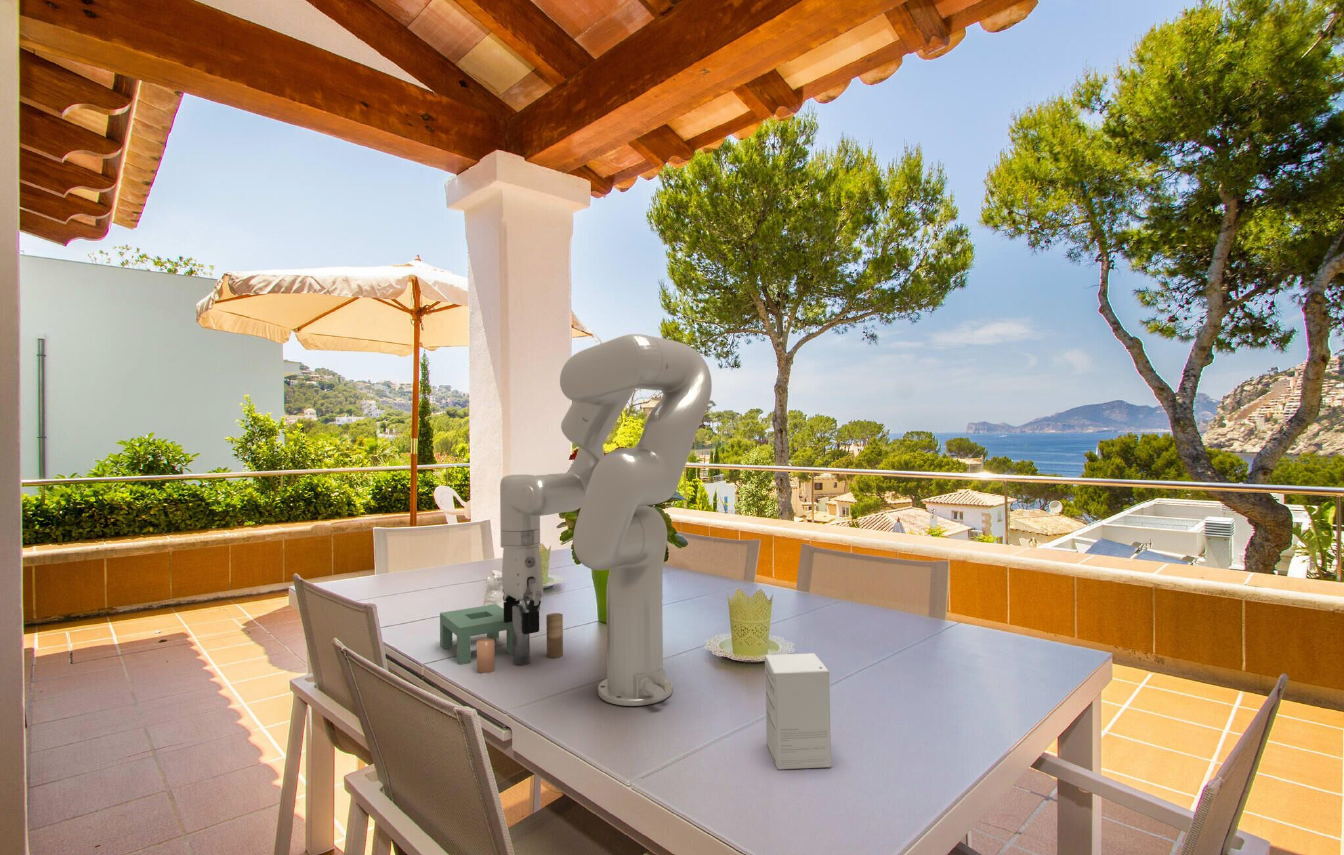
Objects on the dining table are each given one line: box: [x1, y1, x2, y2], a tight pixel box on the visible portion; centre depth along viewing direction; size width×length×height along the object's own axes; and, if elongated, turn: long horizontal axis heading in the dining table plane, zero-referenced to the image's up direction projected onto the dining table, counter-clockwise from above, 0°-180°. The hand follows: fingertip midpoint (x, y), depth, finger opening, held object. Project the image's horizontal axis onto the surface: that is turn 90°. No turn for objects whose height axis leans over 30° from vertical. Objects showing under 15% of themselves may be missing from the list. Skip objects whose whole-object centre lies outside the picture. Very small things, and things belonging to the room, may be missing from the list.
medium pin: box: [545, 612, 564, 659], centre depth 131 cm, size 3×3×8 cm
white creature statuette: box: [482, 569, 504, 609], centre depth 158 cm, size 10×9×12 cm
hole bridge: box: [439, 604, 513, 666], centre depth 135 cm, size 14×12×7 cm
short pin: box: [476, 637, 496, 674], centre depth 123 cm, size 3×3×6 cm
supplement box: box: [764, 652, 832, 771], centre depth 88 cm, size 7×7×13 cm
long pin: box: [512, 603, 531, 666], centre depth 127 cm, size 3×3×11 cm
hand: (521, 626), depth 127 cm, fingers open, 9 cm apart
